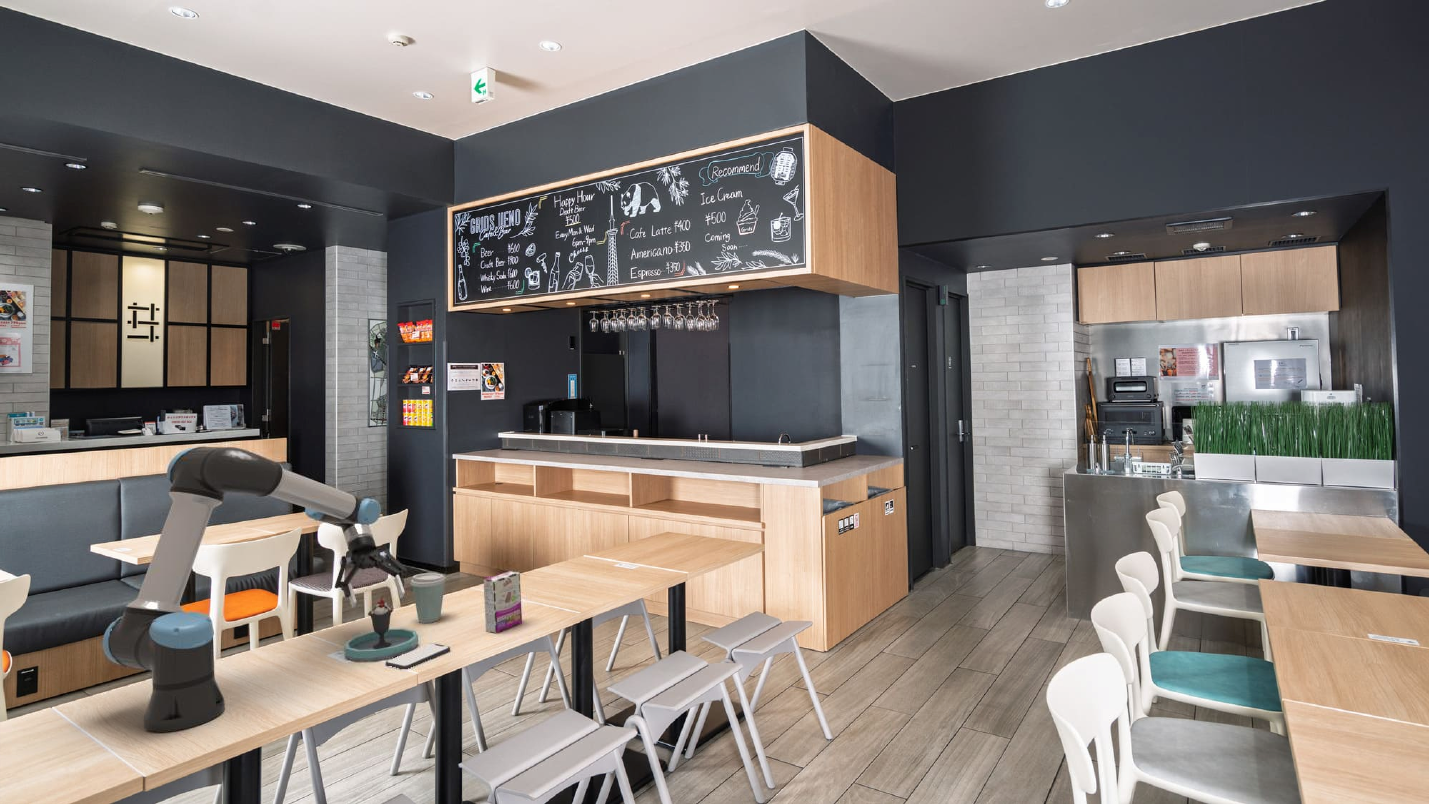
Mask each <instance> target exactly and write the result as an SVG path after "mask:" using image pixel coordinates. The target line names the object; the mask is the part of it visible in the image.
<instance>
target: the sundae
mask: <svg viewBox="0 0 1429 804" xmlns="http://www.w3.org/2000/svg"><path fill="white" fill-rule="evenodd" d="M383 598H384V595H382V596H381V598H380V601H378V602H377V603H376V604H375V606H374V608H373V609H372V610H370V611H369V612H368V613H367V615H368V616H369V617H370V618H371V622H372V628H373V631H375V632H376V633H377V634H379V635H380V640H379V643H378V644H376V645H374V646H373V648H374V649H382V648H387V647H389V646H391V643H387V642H385V640H384V634H385V633H386V632H387V631H388V629H390V622H391V615H392V612H394V609H392V608H391V607H390V606H389V605H388V603H387V602H386V601H385V600H384V599H383Z"/></svg>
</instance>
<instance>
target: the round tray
mask: <svg viewBox="0 0 1429 804" xmlns="http://www.w3.org/2000/svg"><path fill="white" fill-rule="evenodd" d="M379 640H380V635H379V634H377V633H376V632H375V631H374V630H372V631H369V632H365V633H363V634H359V635H357V636H353V637H352V638H350V639H349V640H347V641H346V642H345V643H344V653H345V654H344V655H345V658H346V660H349V661H353V662H357V661H372V662H379V661H378V660H380V661H383V660H382V659H386V660H390V659H389V658H391V659H393V658H392V657H395V656H400V655H402V654H405V653H408V652H410V651H413V649H414V650H415V649H417V647H418V643H419V635H418V633H417V630H413V629H409V628H389V629H388V631H387V632H386V633H385V634H384V640H385V642H387V643H391V646H389V647H387V648H382V649H374V648H373V646H374V645H376V644H378V643H379ZM416 646H417V647H416ZM395 658H396V657H395Z"/></svg>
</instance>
